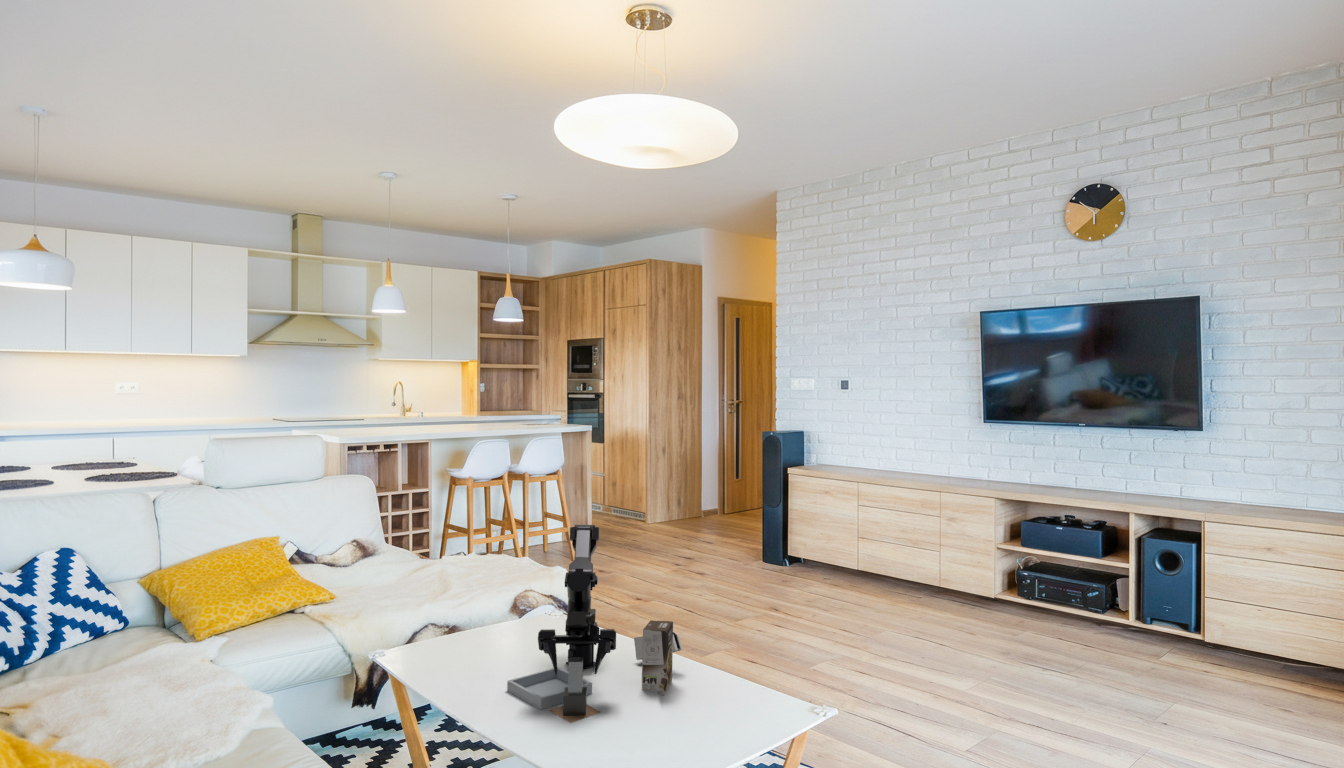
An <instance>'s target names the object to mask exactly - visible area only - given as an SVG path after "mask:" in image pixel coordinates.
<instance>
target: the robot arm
mask: <svg viewBox="0 0 1344 768" xmlns="http://www.w3.org/2000/svg"><path fill="white" fill-rule="evenodd" d="M569 541H570V542H571V543H572V544H571V545H572V549H573V551H574V558H573V559H574V560H572V561H571V562H570V563H569V565H568V572H565V577H564V588H566V591H567V598H568V600H567V602H568V603H567V614H566V620H565V630H564V631H565V634H556V629H540V630H539V631H538V632H537V633H538V634H537V642H538V643H537V644H538V650H539V651H543V653H544V654H547V655H548V656H549V658H550V661H551V663H552V667H553V668H554V671H555V674H557V670H558V669H557V667H558V659H557V658H558V656H557V647H556V646H557V645H558V644H565V645H566V646H569V648H568V649H567V661H565V665H567V666H568V667H569V657H583V670H585V669H588V668H591V667H594V675H596V674H597V673H598V671H599V668H600V666H601V663H602V661H603V660H604V658H605V657H606V655H607V654H610V653H611V652H612V651H614V650H616V649H617V631H616V630H615V628H612V629H611V628H610V629H609V628H601V629H600V627H599V625H598V622H596V610H597V609H596V608H591V607H592V594H591V593H592V592H591V591H593V590H594V589H593V588H595V587H596V586H597V585H598V582H599V580H598V579H599V578H598V575H597V574H596V572H594V564H593V563H592V556H593V554H594V552H595V551H596V550H597V546H598V545H597V542H600V527H596V524H575V525H574V526H571V527H569ZM595 646H597V648H596V649H597V650H596V657H595V654H594V653H595V652H594V651H595ZM594 659H595V660H594Z"/></svg>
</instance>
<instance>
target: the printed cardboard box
mask: <svg viewBox="0 0 1344 768" xmlns="http://www.w3.org/2000/svg"><path fill="white" fill-rule="evenodd" d="M633 643H634V647H635V649H634V650H635V659H636V660H637V661H639V660H642V658H643V657H642V656H643V635H640V636H635V637H633ZM683 650H684V649H683V646H682V643H681V638H680V636H679V634H678V632H675V631H673V653H677V652H680V651H683Z"/></svg>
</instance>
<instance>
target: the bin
mask: <svg viewBox="0 0 1344 768" xmlns="http://www.w3.org/2000/svg"><path fill="white" fill-rule="evenodd" d="M557 669H558V670H557V674H555V671H554V667H553V668H549V669H545V670H541V671H537V672H534V673H529V674H527V675H523V676H520V677H515V678H513V679H509V680H507V684H506V685H507V686H506V690H507V692H508V693H510V694H512V695H514V696H516V697H517V698H519V699H520V700H523V701H524V702H526V703H529V704H530V705H532V706H534V707H535V708H537V709H538V710H544V709H547V708H551V707H554V706H558V705H560V704H563V695H564V690H565V687H568V670H565V669H563V668H561V667H559V666H557ZM583 687H587V696H589V695H592V694H593V692H592V691H593V683H592V682H591V681H589V680H586V679H584V678H583Z"/></svg>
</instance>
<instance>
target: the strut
mask: <svg viewBox="0 0 1344 768" xmlns="http://www.w3.org/2000/svg"><path fill="white" fill-rule="evenodd" d="M583 670H584V669H583V657H569V666H568V670H567V672H568V687H565V690H564V695H563V703H562V706H563V716H586V707H587V705H588V702H587V701H588V700H587V699H588V695H587V687H583V679H584V673H583V672H584V671H583Z"/></svg>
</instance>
